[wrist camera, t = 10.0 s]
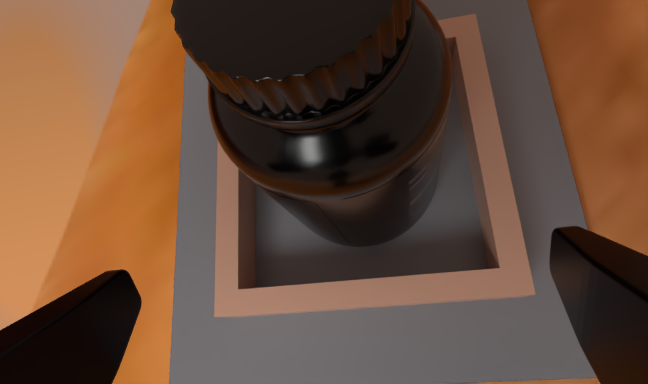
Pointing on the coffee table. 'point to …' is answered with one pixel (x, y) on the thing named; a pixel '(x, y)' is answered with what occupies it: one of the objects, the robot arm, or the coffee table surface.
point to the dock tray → (391, 245)
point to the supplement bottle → (328, 105)
